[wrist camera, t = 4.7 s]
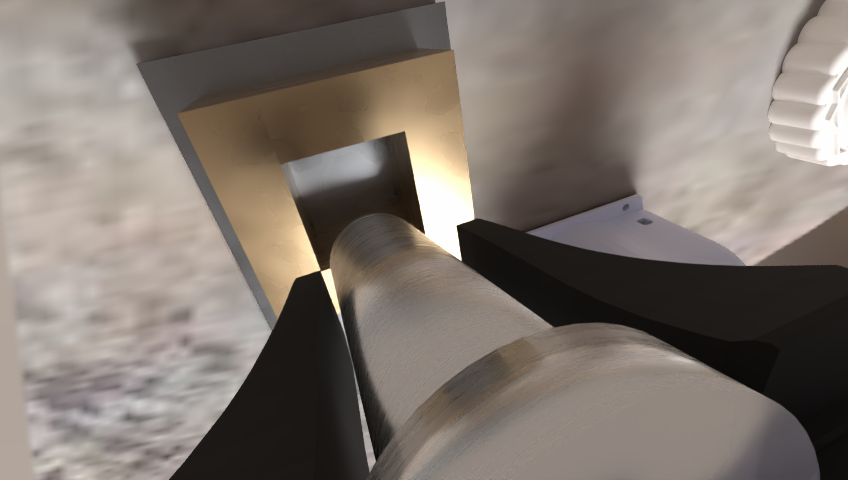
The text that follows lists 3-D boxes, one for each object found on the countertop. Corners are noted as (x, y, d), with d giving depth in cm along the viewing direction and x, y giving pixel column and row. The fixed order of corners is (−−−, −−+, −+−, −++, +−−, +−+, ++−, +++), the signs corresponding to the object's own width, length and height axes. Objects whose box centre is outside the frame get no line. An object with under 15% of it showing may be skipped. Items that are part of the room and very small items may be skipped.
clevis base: (436, 3, 17) (488, -9, 13) (481, 332, 27) (519, 386, 23) (144, 62, 15) (91, 70, 10) (312, 399, 25) (319, 473, 21)
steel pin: (424, 182, 12) (845, 306, 3) (449, 296, 13) (800, 655, 4) (294, 216, 11) (264, 577, 2) (333, 336, 12) (434, 927, 3)
